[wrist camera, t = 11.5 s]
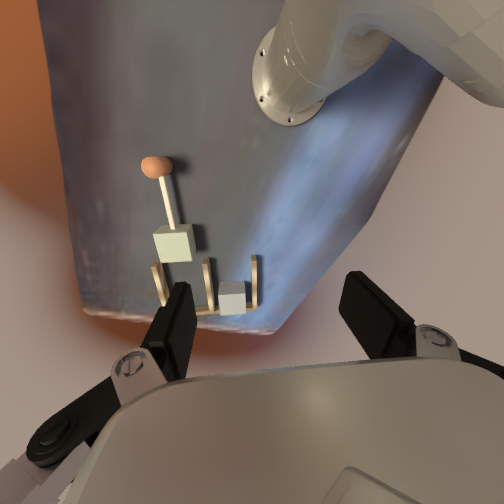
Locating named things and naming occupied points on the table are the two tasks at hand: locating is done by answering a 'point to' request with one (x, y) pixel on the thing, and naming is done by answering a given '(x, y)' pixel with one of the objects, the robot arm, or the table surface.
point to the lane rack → (212, 308)
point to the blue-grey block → (232, 298)
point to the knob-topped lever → (169, 218)
